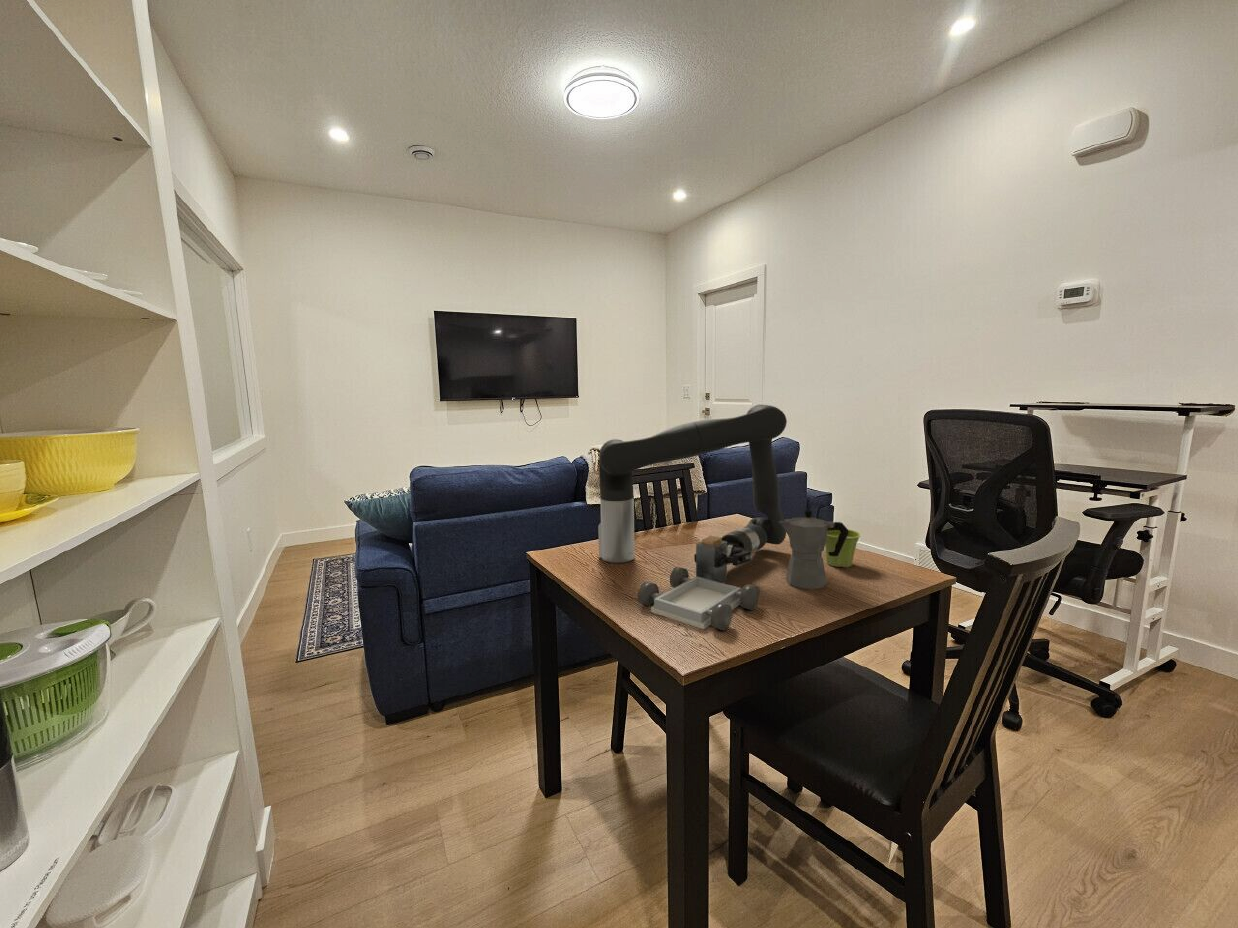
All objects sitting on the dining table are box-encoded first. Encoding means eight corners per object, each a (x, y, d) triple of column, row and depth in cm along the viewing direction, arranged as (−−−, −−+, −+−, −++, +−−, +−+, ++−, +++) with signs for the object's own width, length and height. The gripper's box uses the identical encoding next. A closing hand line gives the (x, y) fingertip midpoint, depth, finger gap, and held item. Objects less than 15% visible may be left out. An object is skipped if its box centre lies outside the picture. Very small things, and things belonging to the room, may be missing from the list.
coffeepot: (774, 585, 122) (776, 511, 120) (780, 572, 131) (782, 503, 128) (845, 595, 116) (848, 517, 113) (846, 581, 124) (849, 508, 122)
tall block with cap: (696, 583, 124) (696, 539, 123) (708, 576, 129) (709, 534, 127) (714, 588, 121) (714, 543, 120) (726, 580, 126) (727, 537, 124)
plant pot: (834, 556, 143) (835, 525, 141) (866, 565, 135) (868, 533, 133) (812, 562, 138) (814, 531, 136) (844, 572, 130) (846, 539, 129)
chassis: (638, 607, 111) (637, 585, 111) (681, 584, 124) (681, 564, 123) (719, 634, 98) (719, 609, 98) (759, 605, 111) (759, 583, 110)
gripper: (715, 526, 139) (680, 540, 126) (765, 535, 130) (733, 551, 117) (715, 552, 140) (680, 570, 127) (765, 563, 131) (732, 583, 118)
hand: (706, 561), depth 122 cm, fingers closed on tall block with cap, 5 cm apart
